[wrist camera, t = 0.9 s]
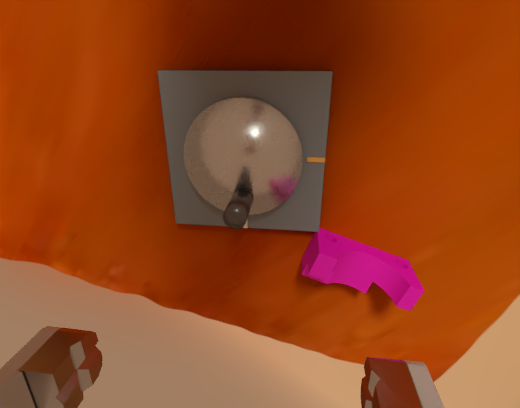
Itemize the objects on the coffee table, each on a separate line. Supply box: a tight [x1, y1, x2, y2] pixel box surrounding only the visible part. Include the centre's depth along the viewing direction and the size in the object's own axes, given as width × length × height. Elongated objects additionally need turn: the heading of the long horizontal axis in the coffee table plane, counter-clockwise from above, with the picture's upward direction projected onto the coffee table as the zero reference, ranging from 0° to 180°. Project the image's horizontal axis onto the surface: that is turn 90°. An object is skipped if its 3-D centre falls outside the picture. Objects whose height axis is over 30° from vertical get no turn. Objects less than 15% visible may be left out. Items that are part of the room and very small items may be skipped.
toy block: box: [302, 228, 424, 311], centre depth 47 cm, size 15×6×8 cm, turn 71°
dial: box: [184, 97, 303, 229], centre depth 41 cm, size 16×16×8 cm
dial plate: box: [158, 70, 333, 232], centre depth 45 cm, size 22×22×2 cm
